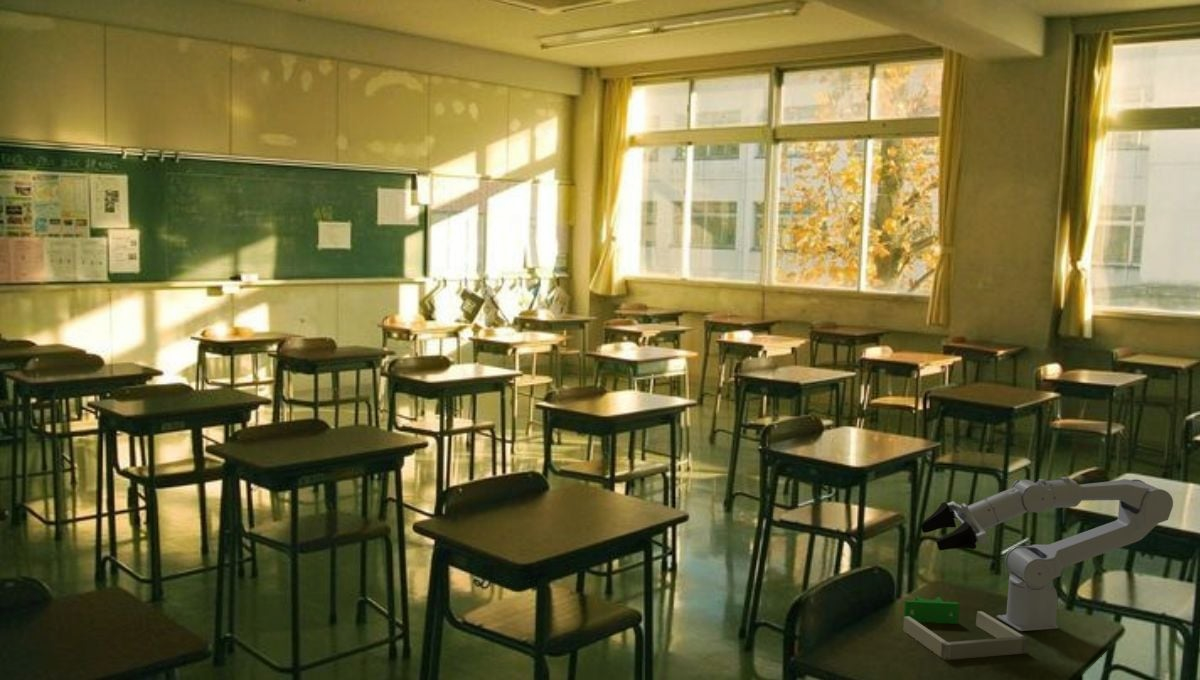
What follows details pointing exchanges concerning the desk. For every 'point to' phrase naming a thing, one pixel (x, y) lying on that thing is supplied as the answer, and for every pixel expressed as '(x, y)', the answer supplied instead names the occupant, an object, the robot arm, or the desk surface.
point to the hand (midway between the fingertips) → (929, 536)
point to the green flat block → (932, 610)
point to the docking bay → (1000, 645)
